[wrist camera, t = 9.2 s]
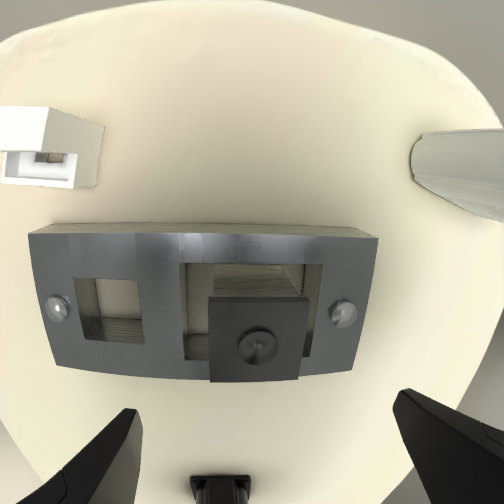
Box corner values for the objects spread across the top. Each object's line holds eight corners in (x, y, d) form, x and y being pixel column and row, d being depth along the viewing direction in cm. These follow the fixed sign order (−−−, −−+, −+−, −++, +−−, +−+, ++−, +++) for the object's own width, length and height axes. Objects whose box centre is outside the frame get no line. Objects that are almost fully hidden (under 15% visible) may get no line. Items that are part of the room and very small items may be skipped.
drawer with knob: (276, 323, 19) (299, 383, 13) (210, 323, 19) (209, 386, 13) (282, 261, 18) (312, 304, 12) (210, 260, 18) (208, 305, 12)
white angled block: (-25, 127, 11) (-73, 112, 4) (99, 130, 17) (123, 114, 10) (-31, 180, 12) (-83, 197, 5) (92, 181, 18) (109, 197, 11)
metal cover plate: (336, 347, 21) (353, 373, 17) (72, 343, 18) (54, 368, 15) (355, 228, 18) (381, 239, 15) (52, 224, 16) (24, 235, 13)
